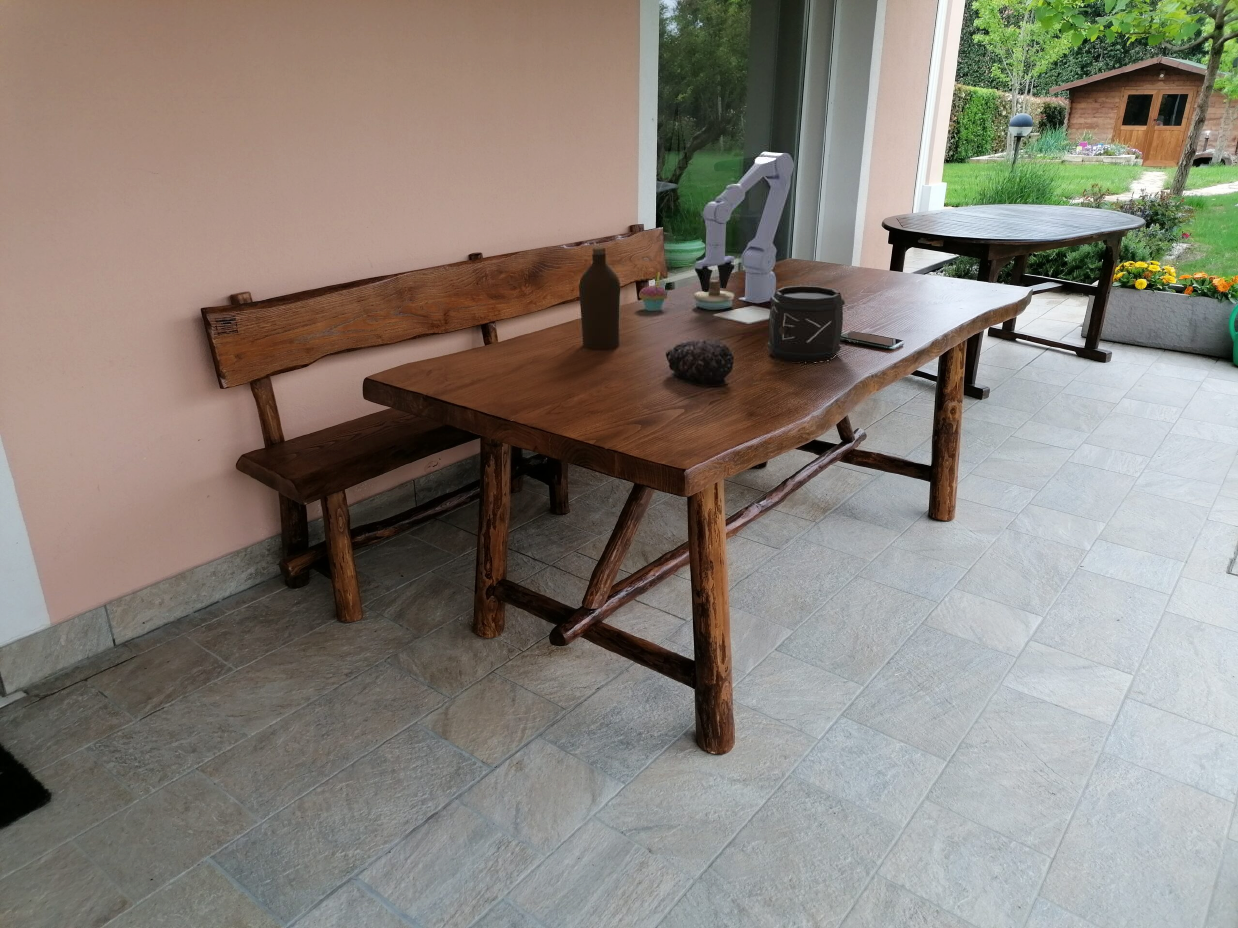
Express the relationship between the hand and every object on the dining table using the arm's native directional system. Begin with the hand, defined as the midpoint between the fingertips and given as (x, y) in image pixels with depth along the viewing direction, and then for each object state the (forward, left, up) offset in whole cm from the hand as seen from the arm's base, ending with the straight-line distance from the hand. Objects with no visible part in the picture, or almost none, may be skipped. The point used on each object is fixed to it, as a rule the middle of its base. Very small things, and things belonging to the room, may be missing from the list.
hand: (714, 290), depth 268 cm
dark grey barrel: (+22, +52, -6) cm, 57 cm away
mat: (-1, +15, -5) cm, 15 cm away
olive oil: (+53, +11, -6) cm, 54 cm away
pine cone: (+56, +49, -6) cm, 74 cm away
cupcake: (+15, -11, -6) cm, 19 cm away
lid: (0, 0, -2) cm, 2 cm away
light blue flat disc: (0, 0, -5) cm, 5 cm away
